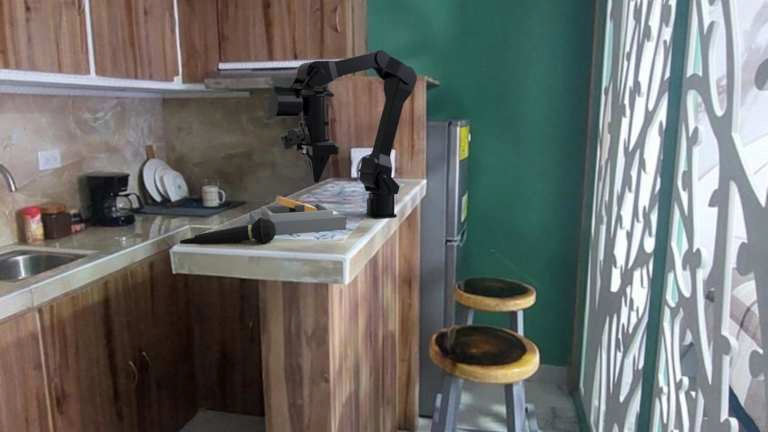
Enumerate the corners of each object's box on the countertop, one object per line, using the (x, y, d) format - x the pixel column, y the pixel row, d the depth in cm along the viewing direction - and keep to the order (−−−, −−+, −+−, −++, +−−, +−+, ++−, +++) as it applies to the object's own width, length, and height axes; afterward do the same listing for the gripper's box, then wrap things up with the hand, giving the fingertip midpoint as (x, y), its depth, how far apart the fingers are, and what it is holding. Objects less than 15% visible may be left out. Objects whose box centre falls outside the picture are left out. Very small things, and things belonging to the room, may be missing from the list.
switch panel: (328, 218, 135) (328, 196, 134) (345, 229, 122) (345, 205, 121) (250, 224, 127) (248, 200, 126) (259, 236, 115) (258, 210, 113)
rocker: (310, 211, 128) (312, 205, 128) (315, 214, 123) (317, 208, 123) (275, 200, 124) (277, 195, 124) (279, 204, 120) (281, 198, 119)
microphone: (181, 260, 108) (277, 247, 108) (172, 237, 105) (271, 223, 105) (187, 246, 112) (279, 234, 113) (179, 223, 109) (274, 211, 110)
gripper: (271, 116, 128) (274, 179, 131) (289, 117, 111) (292, 189, 114) (315, 116, 132) (317, 177, 135) (338, 117, 116) (340, 186, 119)
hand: (316, 182), depth 126 cm, fingers closed
